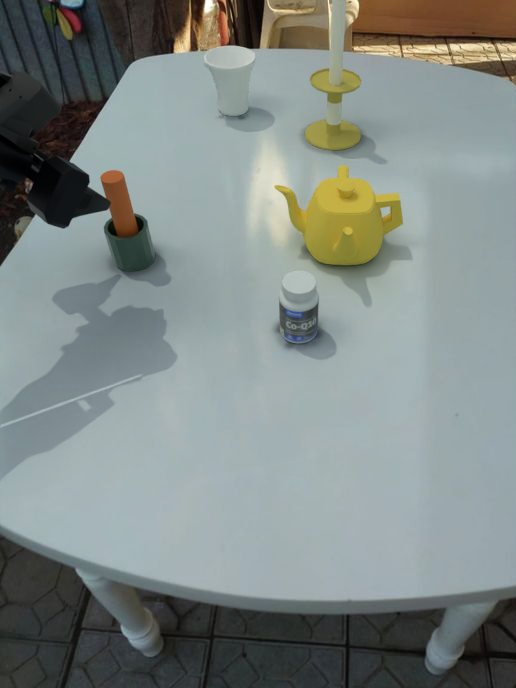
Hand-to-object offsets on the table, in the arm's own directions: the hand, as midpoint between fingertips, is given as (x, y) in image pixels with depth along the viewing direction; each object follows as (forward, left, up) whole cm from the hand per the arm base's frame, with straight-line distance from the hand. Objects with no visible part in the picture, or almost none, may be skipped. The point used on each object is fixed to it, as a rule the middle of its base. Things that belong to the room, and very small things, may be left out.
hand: (86, 189), depth 70 cm
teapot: (+31, -4, -13) cm, 34 cm away
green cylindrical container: (+3, +2, -13) cm, 13 cm away
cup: (+25, +38, -13) cm, 48 cm away
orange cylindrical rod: (+3, +2, -12) cm, 13 cm away
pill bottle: (+21, -18, -13) cm, 31 cm away
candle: (+40, +25, -13) cm, 49 cm away
